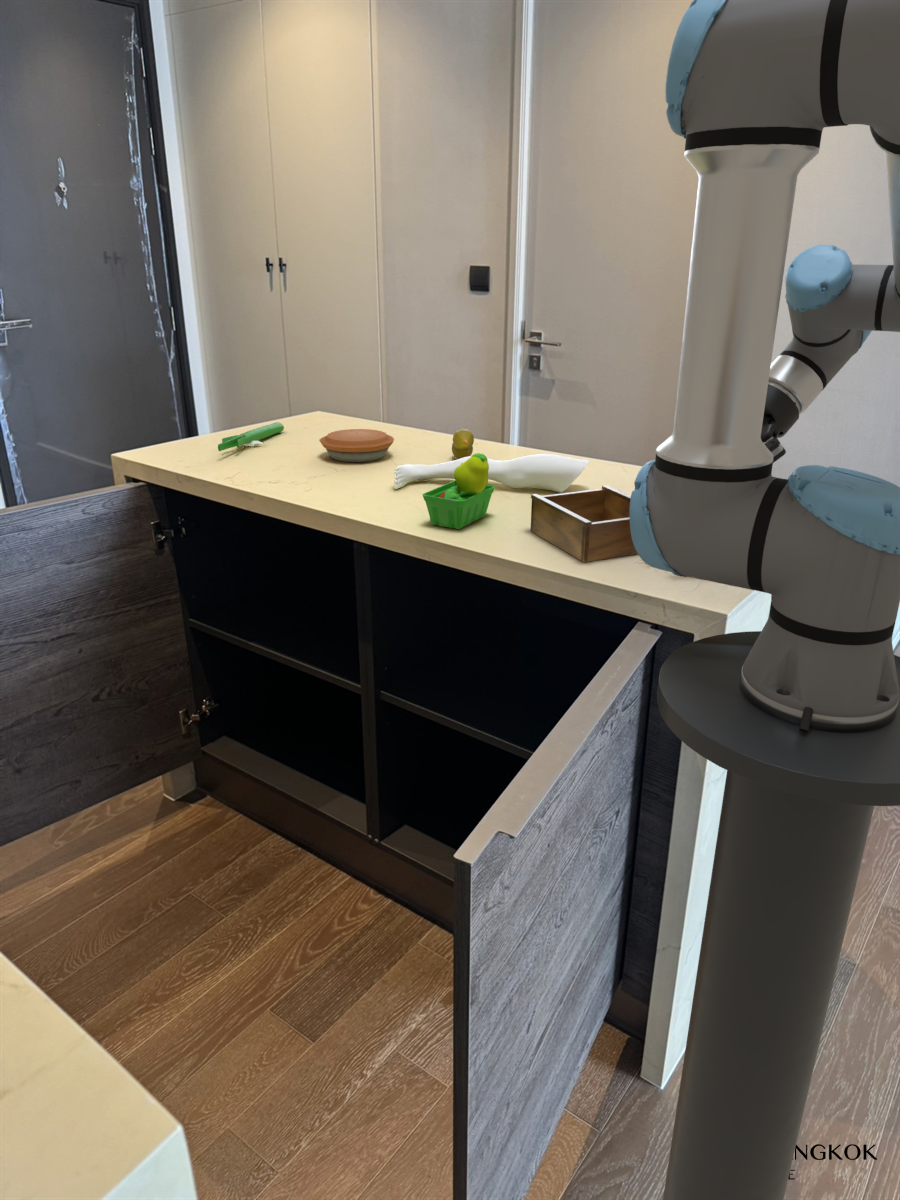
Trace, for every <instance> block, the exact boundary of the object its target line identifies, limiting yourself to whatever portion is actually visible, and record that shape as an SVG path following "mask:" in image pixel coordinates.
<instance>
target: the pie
mask: <svg viewBox="0 0 900 1200" xmlns="http://www.w3.org/2000/svg"><path fill="white" fill-rule="evenodd" d="M318 441H319V443H320V444H321V446H322V447H323V448H325V451H326V452H327V453H328V455H329V457H330V458H331V459H333V460H335V461H338V462H342V463H343V462H344V463H365V462H366V463H368V462H374V461H378V460H381V459H383V458H385V456H386V454H387V452H388V450H389V448H390V447H391V446H392V445H393V444H394V441H395V438H394V436H392V435H390V434H387V432H384V431H383V430H378V429H368V428H351V429H349V428H348V429H339V430H335V431H331V432H329V433H327V435H324V436H323V437H320V438H319V439H318Z"/></svg>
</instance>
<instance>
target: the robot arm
mask: <svg viewBox="0 0 900 1200" xmlns="http://www.w3.org/2000/svg"><path fill="white" fill-rule="evenodd" d="M664 94H665V95H664V101H665V102H666V104H667V108H666V112H665V113H666V118H667V123H668V125H669V128H670V129H671V131H672V132H673V133H674V134H675V135H677V136H680V137H683V139H685V143H684V155H683V156H684V158H685V160H687V162H688V163H689V165H691V167H692V168H693V170H695V171H696V174H697V176H698V181H697V183H698V184H697V192H696V203H695V213H694V220H693V221H694V222H693V232H692V233H693V234H692V242H691V250H690V262H689V273H688V281H687V291H686V301H685V311H684V320H683V330H682V342H681V351H680V359H679V360H680V361H679V369H678V379H677V391H676V398H675V400H676V401H675V408H674V409H675V411H674V421H673V430H672V433H671V435H670V436H669V437H667V438H666V439H665V440H664V441H662V443H660V444H659V445H658V446H657V447H656V449H655V459H652V460H649V461H647V462H646V463H644V464H643V465H642V466H641V468H640V469H639V470H638V473H637V474H636V477H635V480H634V483H633V484H634V489H633V490H632V491H631V494H630V496H631V499H630V517H629V518H630V530H631V537H632V541H633V544H634V547H635V549H636V551H637V553H638V554H637V555H638V556H639V558H640V559H641V560H642V561H643V562H644V563H645V564H646V565H648V566H649V567H651V568H655V569H657V570H660V571H665V572H668V573H671V574H673V575H675V576H678V577H682V578H686V577H688V578H693V579H698V580H703V581H708V582H712V583H717V584H722V585H726V586H731V587H735V588H736V587H737V588H741V589H746V590H751V591H757V592H761V593H766V594H769V595H770V605H769V612H768V618H767V621H766V622H765V624H764V626H763V628H762V629H761V630H760V631H761V633H760V635H759V637H758V638H757V640H756V642H755V644H754V646H753V647H752V649H751V650H750V652H749V654H748V655H747V657H746V660H745V662H744V664H743V666H742V672H741V679H740V688H741V691H742V693H743V694H744V696H745V697H746V698H747V699H748V700H749V701H750V702H751V703H752V704H753V705H755V706H756V707H757V708H759V709H760V710H762V711H764V712H765V713H767V714H769V715H771V716H773V717H775V718H778V719H780V720H783V721H785V722H788V723H791V724H794V725H798V726H800V727H799V730H800V731H801V732H805V733H807V732H808V731H809V728H810V729H815V730H821V731H828V732H842V733H852V732H864V731H870V730H874V729H878V728H880V727H883V726H885V725H887V724H888V723H890V722H891V721H892V720H893V719H894V717H895V715H896V712H897V708H898V704H899V699H900V694H899V685H898V679H897V672H896V666H895V659H894V655H895V654H894V648H893V635H894V630H895V625H896V621H897V617H898V613H899V608H900V486H899V485H896V484H895V483H893V482H891V481H889V480H886V479H883V478H881V477H878V476H876V475H872V474H869V473H865V472H863V471H858V470H854V469H849V468H844V467H839V466H832V465H831V466H823V465H819V464H817V465H816V464H810V465H802V466H798V467H797V468H794V470H793V471H792V473H791V474H790V475H789V476H788V478H781V477H777V476H773V475H772V474H773V473H772V472H773V465H774V463H775V462H777V461H778V460H780V459H781V458H782V457H783V456H785V455H786V453H787V450H786V449H785V447H784V446H783V444H782V443H781V441H780V440H779V439H781V438H783V437H784V436H785V435H786V434H787V433H788V432H789V431H790V430H791V428H792V427H793V426H794V425H795V424H796V423H797V421H798V420H799V419H800V415H802V414H803V413H805V411H807V409H808V408H809V407H810V405H812V403H813V402H814V401H815V400H816V399H817V397H819V395H820V394H821V393H822V392H823V391H824V389H825V388H827V385H828V384H829V383H830V382H831V381H832V380H833V379H834V378H835V376H836V375H837V374H838V373H839V372H840V371H841V370H842V368H844V366H845V365H846V364H847V363H848V362H849V361H850V359H852V357H853V356H855V354H857V353H858V351H859V350H860V349H861V348H862V347H863V344H864V343H865V341H866V340H867V339H868V337H869V336H870V335H871V333H872V332H873V331H875V332H892V333H900V0H692V2H691V3H690V5H689V7H688V9H686V10H685V13H684V14H683V16H682V18H681V21H680V22H679V25H678V27H677V30H676V33H675V35H674V39H673V42H672V45H671V49H670V53H669V57H668V64H667V68H666V76H665V90H664ZM850 125H865V126H868V127H869V131H870V135H871V137H872V139H873V141H874V143H875V144H876V145H877V146H878V148H880V149H881V150H882V151H883V152H884V158H885V159H884V160H885V173H886V185H887V197H888V199H887V200H888V209H889V210H888V211H889V223H890V236H891V237H890V238H891V250H892V263H893V264H853V262H852V261H851V257H850V255H849V254H848V253H847V252H846V251H845V250H844V249H842V248H840V247H837V246H836V245H832V244H818V245H815V246H811V247H808V248H807V249H804V250H803V251H802V252H800V253H799V254H797V255H796V256H795V257H794V258H793V260H792V261H791V262H790V263H789V265H788V267H787V269H786V271H785V267H786V259H787V253H788V245H789V238H790V233H791V225H792V224H791V223H792V216H793V210H794V204H795V197H796V196H795V195H796V189H797V182H798V176H799V174H800V172H801V170H802V169H803V168H805V166H807V165H808V164H809V163H810V162H811V161H812V160H813V159H814V158H816V156H818V154H820V147H821V141H822V135H823V130H824V128H831V127H846V126H850ZM784 274H785V277H784ZM784 278H785V280H784ZM783 281H784V282H785V297H784V298H785V302H786V305H787V308H788V314H789V319H790V326H791V330H792V336H793V337H792V339H791V340H790V341H789V343H788V344H787V345H786V346H785V348H784V349H783V350H782V351H781V353H780V354H779V355H778V356H777V357H776V358H775V359H774V360H773V361H772V358H773V352H774V345H775V337H776V330H777V324H778V315H779V309H780V301H781V296H782V287H783Z"/></svg>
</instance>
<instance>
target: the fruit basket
mask: <svg viewBox="0 0 900 1200" xmlns="http://www.w3.org/2000/svg"><path fill="white" fill-rule="evenodd" d="M471 456H472V457H471V458H469V459H468V460H467V461H465V462H463V463H462V464H460V466H458V467H457V468H456V469H455V471H454V477H455V479H454V480H452V481H449V482H447V483H446V484H445V483H444V484H443V485H441V486H438V487H436V488H434V489H431V490H429V491H426V492H424V493H422V498H423V500H424V502H425V505H426V509H427V512H428V516H429V520H430V523H431V525H434V526H440V527H444V528H451V529H455V530H460V529H462V528H464V527H465V526H466V527H467V526H468V525H470V524H472V523H474V522H477V521H478V520H479V519H482V518H484V517H486V514H487V511H488V508H489V505H490V501H491V498H492V494H493V493H494V491H495V488H496V486H495V485H491V484H488V482H489V479H488V470H489V464H488V462H487V460H488V459H487V458H488V457H487V456H486V454H484V453H479V452H476V453H474V454H471Z"/></svg>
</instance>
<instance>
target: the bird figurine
mask: <svg viewBox="0 0 900 1200" xmlns="http://www.w3.org/2000/svg"><path fill="white" fill-rule="evenodd" d="M474 442H475V438H474V435H473V433H472V431H471V430H469V429H467V428H461V429H458V430H456V431H455V432H454V433H453V436H452V445H451V452H452V455H453V456H454V457H455V458H456V459H457V460H458V459H460V458H464V457H468V456H472V455H473V451H474V446H473V445H474Z"/></svg>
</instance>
